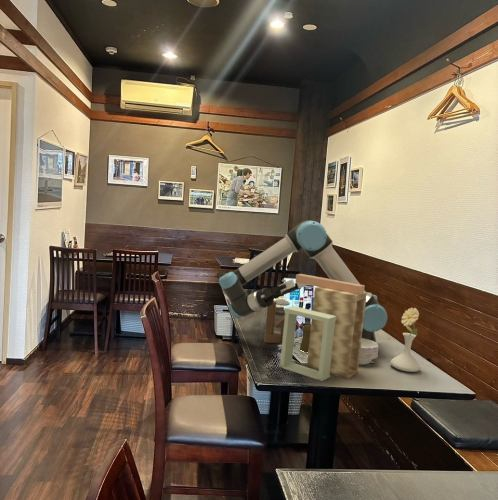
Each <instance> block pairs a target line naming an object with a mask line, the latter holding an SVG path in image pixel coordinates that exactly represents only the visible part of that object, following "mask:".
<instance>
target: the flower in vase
mask: <svg viewBox="0 0 498 500" xmlns="http://www.w3.org/2000/svg"><path fill="white" fill-rule="evenodd" d="M419 316H420V313H419V310H418V309H417V308H416V307H414V308H413V307H410V308H408V309H407V310H404V313H403V314H402V316H401V320H400V322H401V324H403V327H406V329H407V330H408V331H409V332H410V333H409V332H403V333H402V335H403V339H404V349H403V352H402V353H400V354H398V355H397V356H395V357H393V358H392V359H391V360H390V365H391V366H392V367H393V368H394V369H397V370H400V371H403V372H410V373H413V372H419V371H420V370H421V369H422V366H421V364H420V363H419V361H418V360H417V359H416V358H415V357H414V356H413V355H412V353H411V352H412V351H411V349H412V343H413V341H414V339H415V338H416V337H417V336H418V328H415V323H416V321H418V320H419ZM412 325H413V328H411V327H410V326H412Z"/></svg>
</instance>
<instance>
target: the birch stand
mask: <svg viewBox="0 0 498 500" xmlns="http://www.w3.org/2000/svg"><path fill="white" fill-rule="evenodd" d="M365 292H366V291H365ZM365 292H364V294H361V295H358V294H353V293H348V292H342V291H337V290H332V289H327V288H322V287H317V286H314V295H313V304H312V311H316V312H321V313H325V314H329V315H334V316H337V317H336V321H335V329H334V338H333V347H332V356H331V366H330V376H331V375H332V376H334V377H338V378H342V379H344V380H348V379H349V378H352V377H353V376H354V375H356V374H357V373H358V372H359V366H360V364H359V357H360V348H361V339H362V331H363V322H364V313H365V305H366V296H367V293H365ZM310 320H311V323H310V325H311V330H310V340H309V349H308V353H307V360H306V361H307V362H306V367H308V368H311V369H314V370H317V371H319V363H320V354H321V344H322V335H323V326H324V322H322V321H318V320H314V319H310Z"/></svg>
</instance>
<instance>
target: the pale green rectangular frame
mask: <svg viewBox="0 0 498 500" xmlns="http://www.w3.org/2000/svg"><path fill="white" fill-rule="evenodd" d="M284 310H285V320H284V330H283V340H282V344H281V353H280V362H279V365H278V367H279V368H280V369H284V370H287V371H290V372H293V373H296V374H299V375H302V376H305V377H308V378H310V379H314V380H318V381H321V382H323V381H326V380H327V379H329V378H330V377H331V374H330V366H331V356H332V347H333V338H334V329H335V321H336V317H337V316H334V315H329V314H325V313H321V312H316V311H313V309H312V310H311V309H307V308H303V307H298V306H295V305H292V306H289V307H284ZM297 316H299V317H301V318H307V319H310V320H312V319H314V320H318V321H322V322H324V326H323V335H322V344H321V354H320V363H319V370H316V369H312V368H309V367H307V366H304V365H301V364H297V363H295V362H293V356H294V346H295V335H296V327H297Z"/></svg>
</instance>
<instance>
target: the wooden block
mask: <svg viewBox="0 0 498 500" xmlns="http://www.w3.org/2000/svg"><path fill="white" fill-rule="evenodd" d="M266 308H267V310H266V311H267V312H266V319H265V320H266V321H265V330H264V334H263V341H264V343H266V344H267V343H268V344H281V345H282V340H283V330H284V320H285V315H284V316H283V317H282V318H281V319H280V320H278V321H277V322H276V323H275V324H274V322H275V311H276V309H277V305H276V301H275V300H274V302H273V304H272V305H270V306H268V307H266ZM274 327H281V334H277V333H273V332H274Z"/></svg>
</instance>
